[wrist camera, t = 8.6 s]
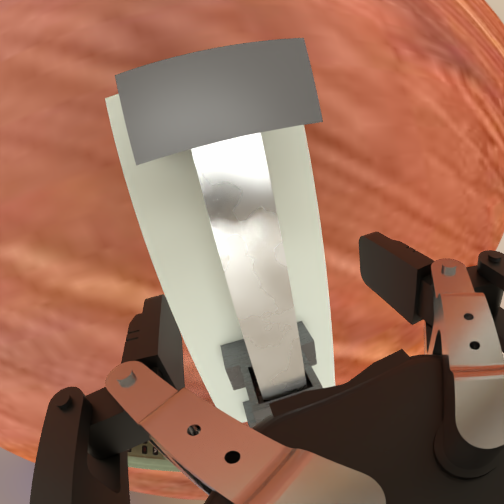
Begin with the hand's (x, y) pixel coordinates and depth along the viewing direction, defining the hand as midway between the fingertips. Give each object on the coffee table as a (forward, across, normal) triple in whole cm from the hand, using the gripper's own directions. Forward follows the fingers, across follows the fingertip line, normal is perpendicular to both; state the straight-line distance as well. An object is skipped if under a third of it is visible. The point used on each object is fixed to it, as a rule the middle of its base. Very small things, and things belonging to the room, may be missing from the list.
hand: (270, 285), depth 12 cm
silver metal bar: (+8, 0, +4) cm, 9 cm away
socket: (+12, 0, -8) cm, 14 cm away
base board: (+14, 0, +7) cm, 15 cm away
